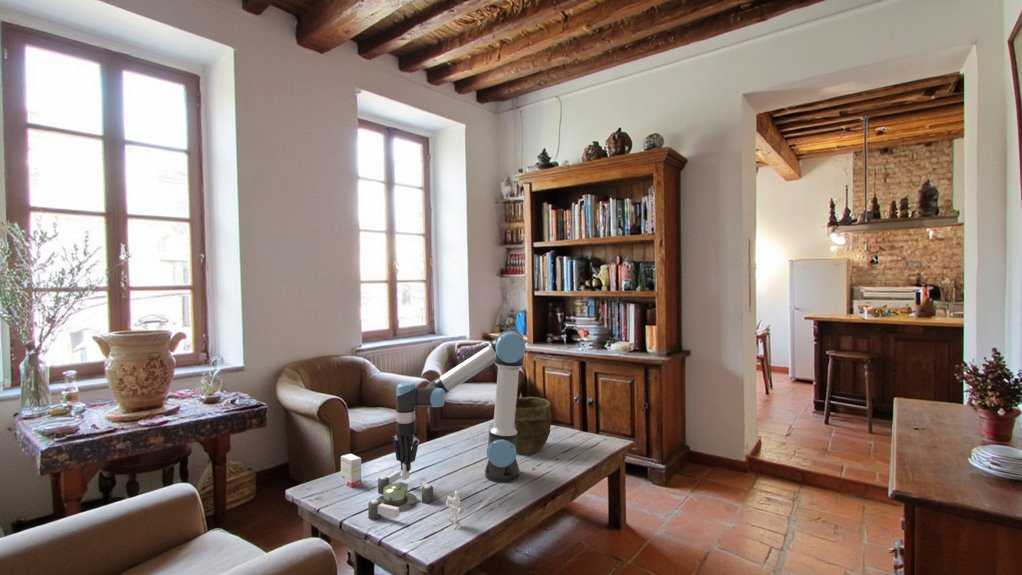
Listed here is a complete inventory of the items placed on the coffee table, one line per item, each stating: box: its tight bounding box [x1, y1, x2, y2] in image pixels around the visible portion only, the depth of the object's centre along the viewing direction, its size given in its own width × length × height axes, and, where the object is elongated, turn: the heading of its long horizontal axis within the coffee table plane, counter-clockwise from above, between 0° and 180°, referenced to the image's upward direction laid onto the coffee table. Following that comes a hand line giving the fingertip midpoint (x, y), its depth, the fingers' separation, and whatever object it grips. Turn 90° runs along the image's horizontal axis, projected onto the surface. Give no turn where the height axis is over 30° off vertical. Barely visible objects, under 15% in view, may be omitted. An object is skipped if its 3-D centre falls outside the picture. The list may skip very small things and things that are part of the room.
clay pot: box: [515, 396, 553, 456], centre depth 241 cm, size 25×25×25 cm
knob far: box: [377, 470, 402, 495], centre depth 196 cm, size 12×4×6 cm, turn 156°
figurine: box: [445, 490, 466, 530], centre depth 167 cm, size 5×9×12 cm, turn 57°
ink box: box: [340, 453, 362, 489], centre depth 201 cm, size 9×5×12 cm, turn 49°
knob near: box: [419, 477, 434, 505], centre depth 188 cm, size 12×4×6 cm, turn 21°
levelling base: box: [375, 482, 421, 513], centre depth 180 cm, size 26×23×7 cm
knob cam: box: [367, 499, 400, 521], centre depth 170 cm, size 12×4×6 cm, turn 66°
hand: (405, 478), depth 197 cm, fingers closed
